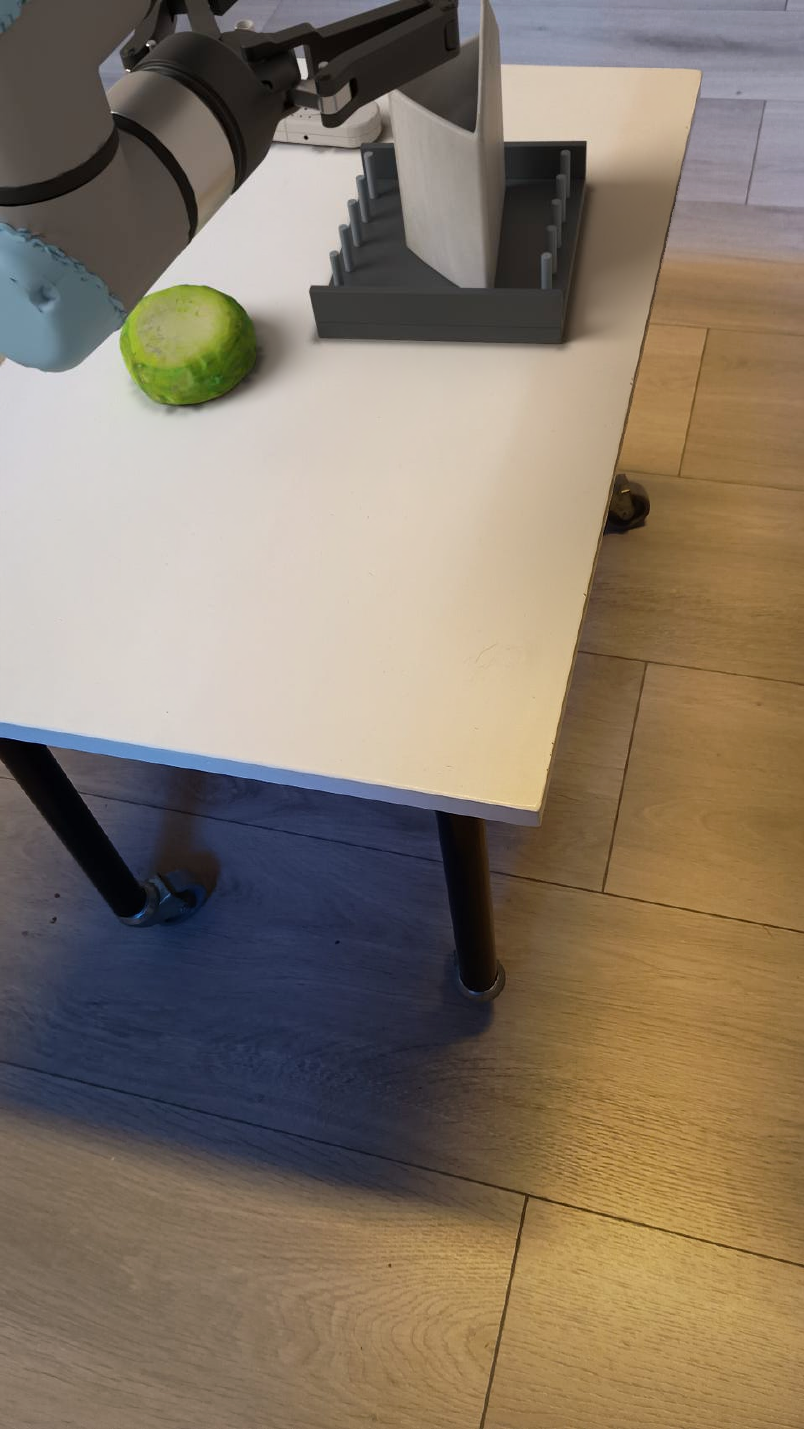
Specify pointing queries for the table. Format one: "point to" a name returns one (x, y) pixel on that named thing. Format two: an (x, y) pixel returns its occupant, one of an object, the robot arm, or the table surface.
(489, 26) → the planter
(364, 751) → the table surface
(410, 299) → the dish rack
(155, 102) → the robot arm
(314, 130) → the electronic device
